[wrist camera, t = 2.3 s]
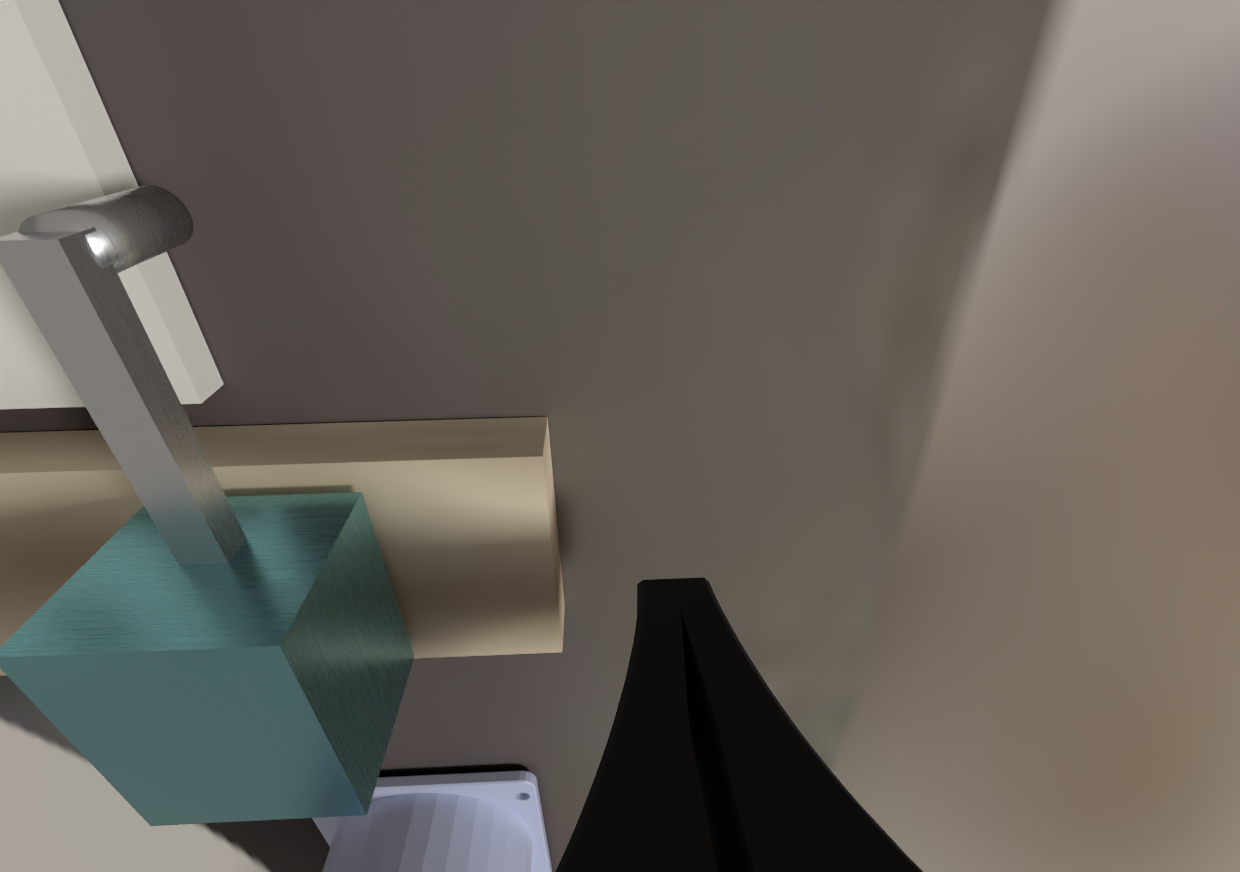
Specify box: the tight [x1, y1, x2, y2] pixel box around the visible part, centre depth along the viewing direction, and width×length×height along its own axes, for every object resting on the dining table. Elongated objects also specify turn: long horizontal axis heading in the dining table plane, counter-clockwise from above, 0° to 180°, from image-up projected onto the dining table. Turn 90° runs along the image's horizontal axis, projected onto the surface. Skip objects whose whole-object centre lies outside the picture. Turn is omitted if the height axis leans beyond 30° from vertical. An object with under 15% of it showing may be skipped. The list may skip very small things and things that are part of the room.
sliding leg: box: [0, 185, 414, 826], centre depth 10 cm, size 10×4×4 cm, turn 0°
